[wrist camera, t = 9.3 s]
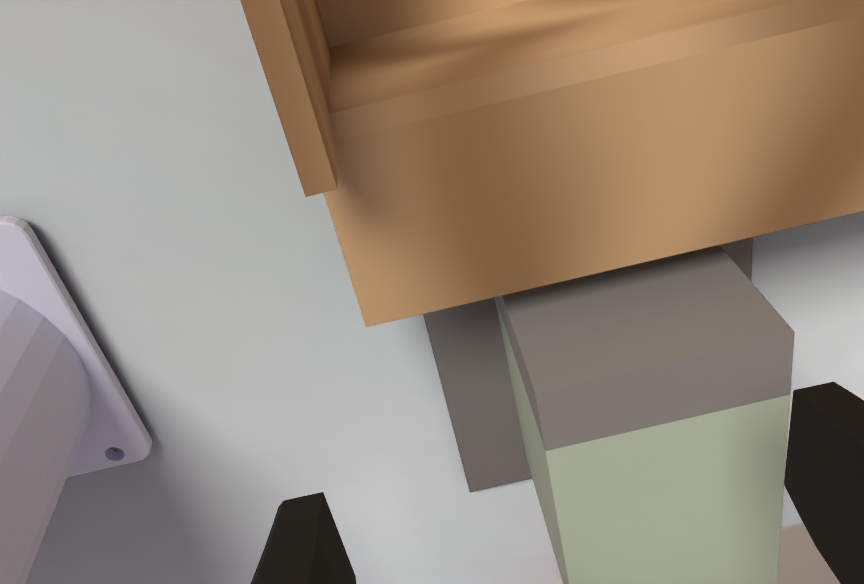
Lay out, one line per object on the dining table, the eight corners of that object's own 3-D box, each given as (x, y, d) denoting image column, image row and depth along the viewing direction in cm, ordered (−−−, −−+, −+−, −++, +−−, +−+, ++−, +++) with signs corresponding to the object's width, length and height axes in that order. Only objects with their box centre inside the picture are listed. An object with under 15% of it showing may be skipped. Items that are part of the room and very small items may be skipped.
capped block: (526, 457, 24) (577, 632, 19) (483, 240, 20) (534, 392, 15) (683, 421, 24) (776, 587, 19) (675, 194, 19) (794, 331, 14)
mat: (468, 483, 25) (469, 492, 24) (406, 248, 20) (408, 256, 20) (740, 420, 25) (746, 429, 24) (747, 168, 20) (754, 175, 19)
